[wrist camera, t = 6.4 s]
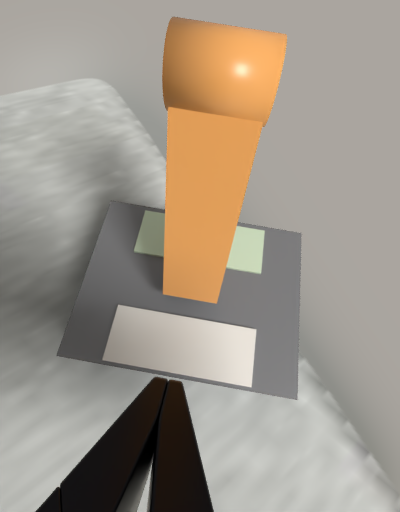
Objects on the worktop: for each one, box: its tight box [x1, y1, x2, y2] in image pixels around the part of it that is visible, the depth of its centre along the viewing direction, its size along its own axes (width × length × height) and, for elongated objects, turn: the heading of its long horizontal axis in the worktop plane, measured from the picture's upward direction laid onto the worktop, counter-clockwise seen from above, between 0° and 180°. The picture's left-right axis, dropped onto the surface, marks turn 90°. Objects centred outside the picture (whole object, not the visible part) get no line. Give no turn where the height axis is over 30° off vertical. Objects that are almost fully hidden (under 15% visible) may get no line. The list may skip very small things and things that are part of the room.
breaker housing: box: [57, 201, 301, 400], centre depth 18 cm, size 10×13×4 cm
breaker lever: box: [162, 17, 287, 304], centre depth 12 cm, size 2×3×12 cm
